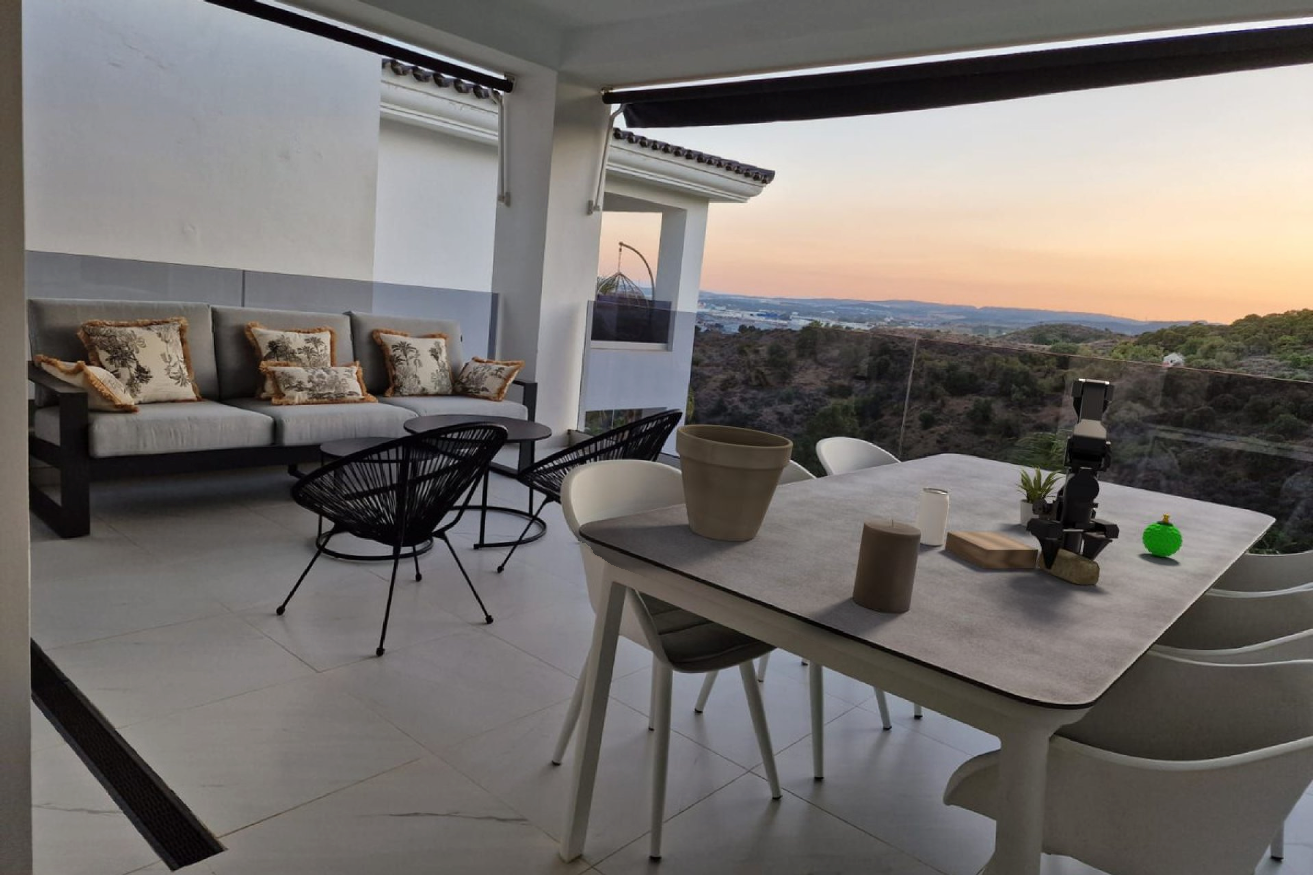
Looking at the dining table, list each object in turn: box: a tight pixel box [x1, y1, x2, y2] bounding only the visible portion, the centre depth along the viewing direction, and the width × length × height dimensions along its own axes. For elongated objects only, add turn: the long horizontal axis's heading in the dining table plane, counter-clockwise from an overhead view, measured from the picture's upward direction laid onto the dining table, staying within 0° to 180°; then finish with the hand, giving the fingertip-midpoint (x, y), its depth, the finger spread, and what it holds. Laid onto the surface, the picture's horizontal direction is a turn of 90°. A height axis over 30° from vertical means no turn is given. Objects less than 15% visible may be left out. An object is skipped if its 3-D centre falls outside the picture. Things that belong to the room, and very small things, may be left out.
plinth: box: [944, 531, 1039, 569], centre depth 180 cm, size 13×13×4 cm
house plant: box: [1014, 465, 1066, 527], centre depth 214 cm, size 14×14×16 cm
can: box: [914, 487, 950, 547], centre depth 188 cm, size 6×6×12 cm
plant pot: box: [675, 424, 794, 542], centre depth 179 cm, size 25×25×22 cm
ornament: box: [1141, 513, 1184, 558], centre depth 195 cm, size 8×8×10 cm
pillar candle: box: [852, 518, 921, 614], centre depth 143 cm, size 10×10×15 cm
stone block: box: [1037, 549, 1101, 586], centre depth 171 cm, size 6×12×5 cm, turn 21°
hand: (1066, 568), depth 171 cm, fingers open, 9 cm apart
